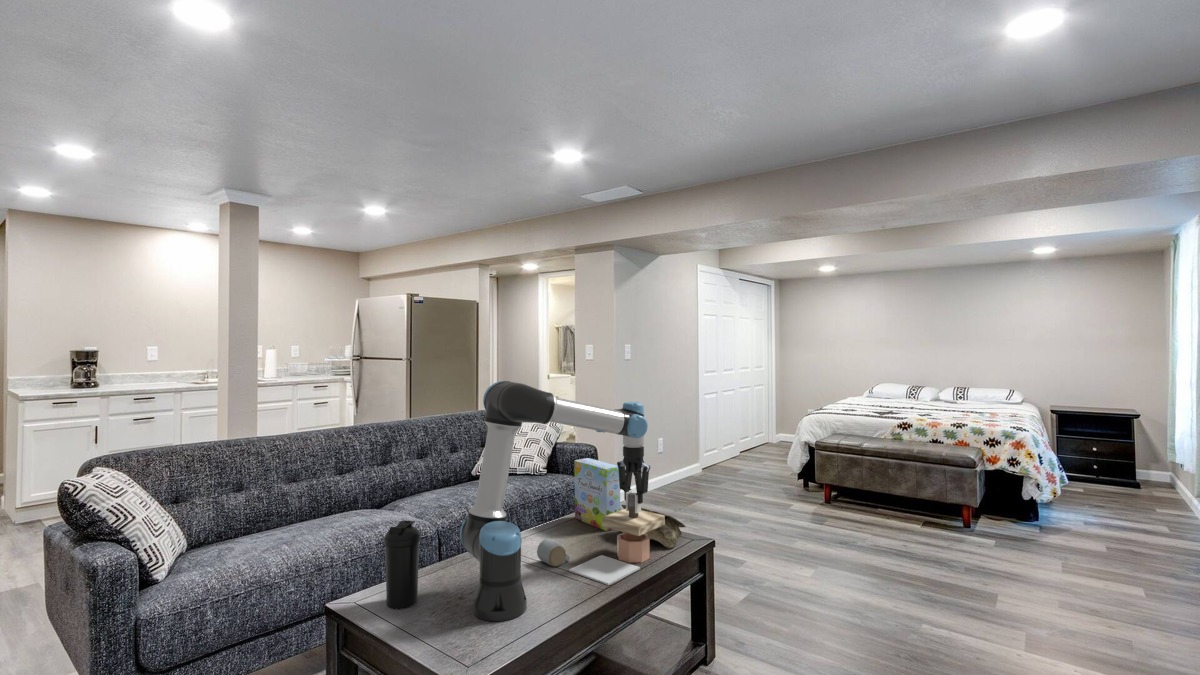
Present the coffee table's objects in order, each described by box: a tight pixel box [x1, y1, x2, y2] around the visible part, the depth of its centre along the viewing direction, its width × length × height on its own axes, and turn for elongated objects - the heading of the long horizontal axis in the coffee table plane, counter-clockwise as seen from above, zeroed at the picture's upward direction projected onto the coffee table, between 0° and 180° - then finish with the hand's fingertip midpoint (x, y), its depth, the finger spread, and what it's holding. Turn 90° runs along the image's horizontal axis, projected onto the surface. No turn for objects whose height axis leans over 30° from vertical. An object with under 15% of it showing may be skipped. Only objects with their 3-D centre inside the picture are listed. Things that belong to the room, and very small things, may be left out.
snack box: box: [573, 457, 621, 532], centre depth 241 cm, size 22×9×26 cm, turn 41°
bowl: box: [616, 532, 651, 564], centre depth 204 cm, size 11×11×7 cm
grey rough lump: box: [620, 504, 687, 549], centre depth 221 cm, size 28×13×15 cm
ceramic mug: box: [536, 538, 571, 567], centre depth 198 cm, size 11×8×8 cm
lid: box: [602, 492, 666, 536], centre depth 204 cm, size 16×16×11 cm
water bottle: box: [383, 520, 422, 610], centre depth 167 cm, size 10×10×23 cm
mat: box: [568, 554, 641, 586], centre depth 192 cm, size 17×17×1 cm
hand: (633, 511), depth 204 cm, fingers closed on lid, 3 cm apart
